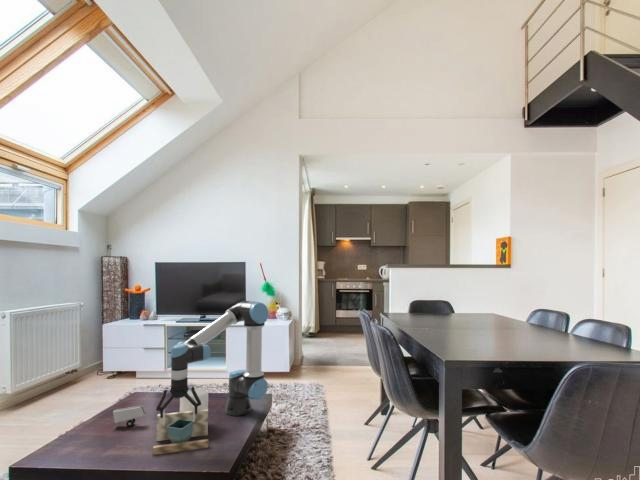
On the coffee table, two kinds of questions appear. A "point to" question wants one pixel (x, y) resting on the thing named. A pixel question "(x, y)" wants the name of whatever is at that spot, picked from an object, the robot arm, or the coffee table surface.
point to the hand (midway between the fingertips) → (179, 422)
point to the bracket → (128, 414)
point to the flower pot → (180, 431)
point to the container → (203, 396)
